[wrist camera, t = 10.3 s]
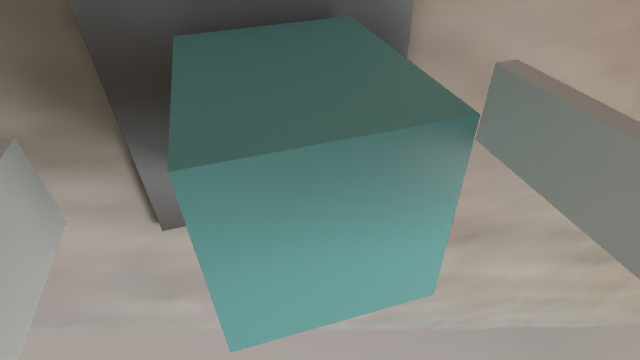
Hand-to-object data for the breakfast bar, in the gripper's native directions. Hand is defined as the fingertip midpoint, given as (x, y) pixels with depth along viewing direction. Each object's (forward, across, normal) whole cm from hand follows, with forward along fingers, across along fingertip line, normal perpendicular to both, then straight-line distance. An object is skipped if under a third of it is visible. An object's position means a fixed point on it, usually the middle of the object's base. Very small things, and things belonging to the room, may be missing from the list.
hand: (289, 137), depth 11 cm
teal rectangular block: (+2, 0, 0) cm, 2 cm away
